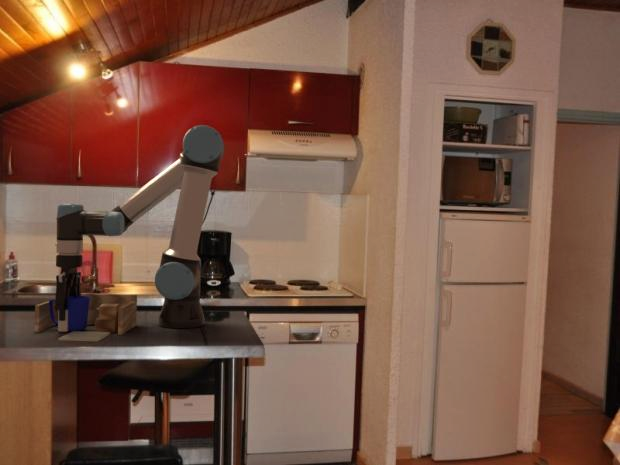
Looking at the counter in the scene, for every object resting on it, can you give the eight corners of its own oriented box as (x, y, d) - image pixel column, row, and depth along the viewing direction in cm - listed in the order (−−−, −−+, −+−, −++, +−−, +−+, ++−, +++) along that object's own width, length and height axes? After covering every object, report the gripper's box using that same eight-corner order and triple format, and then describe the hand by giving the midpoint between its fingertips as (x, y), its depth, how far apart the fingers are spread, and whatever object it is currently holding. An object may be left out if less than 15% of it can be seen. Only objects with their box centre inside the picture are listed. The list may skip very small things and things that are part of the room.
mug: (55, 326, 184) (55, 294, 184) (93, 327, 184) (93, 295, 183) (42, 331, 176) (43, 298, 176) (82, 332, 175) (82, 299, 175)
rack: (136, 325, 191) (137, 294, 191) (121, 334, 175) (122, 301, 175) (56, 322, 191) (56, 292, 190) (34, 332, 175) (35, 298, 175)
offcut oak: (119, 316, 185) (119, 303, 185) (115, 319, 179) (116, 306, 179) (102, 316, 184) (103, 303, 184) (98, 319, 178) (99, 306, 178)
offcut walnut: (122, 328, 186) (122, 316, 185) (114, 333, 178) (115, 320, 178) (103, 328, 186) (103, 315, 185) (95, 332, 178) (95, 319, 178)
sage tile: (110, 334, 175) (110, 332, 175) (97, 341, 164) (97, 339, 164) (73, 333, 175) (73, 331, 175) (58, 340, 164) (58, 338, 164)
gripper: (69, 252, 189) (68, 323, 189) (43, 255, 169) (41, 334, 170) (93, 252, 189) (91, 323, 189) (69, 256, 169) (67, 335, 170)
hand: (67, 328), depth 180 cm, fingers closed on mug, 7 cm apart
